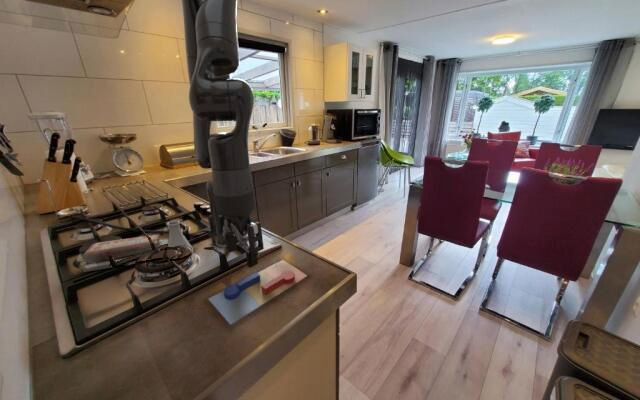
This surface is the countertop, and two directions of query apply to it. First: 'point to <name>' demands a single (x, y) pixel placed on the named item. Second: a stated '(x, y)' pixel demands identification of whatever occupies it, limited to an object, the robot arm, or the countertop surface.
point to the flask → (176, 235)
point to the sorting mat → (254, 293)
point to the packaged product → (118, 251)
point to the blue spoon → (241, 286)
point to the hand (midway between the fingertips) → (242, 257)
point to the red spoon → (278, 282)
